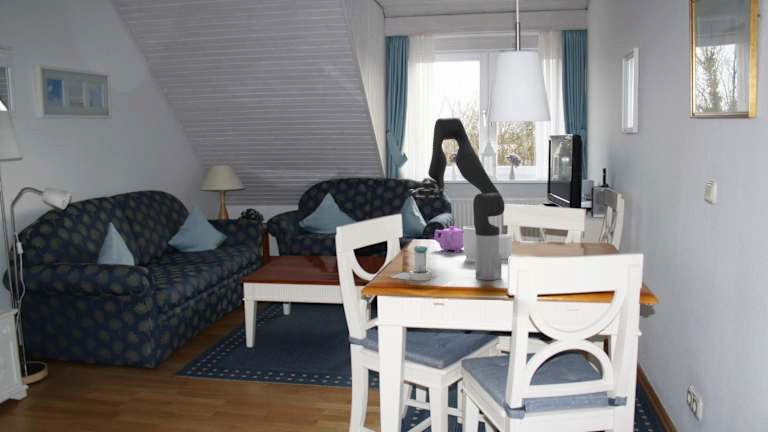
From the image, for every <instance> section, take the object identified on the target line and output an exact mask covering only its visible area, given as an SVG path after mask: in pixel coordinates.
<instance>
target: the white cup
mask: <svg viewBox="0 0 768 432" xmlns="http://www.w3.org/2000/svg"><path fill="white" fill-rule="evenodd" d="M512 249H513V235H512V234H504V233H503V234H501V233H500V234H499V253H501V260H507V259H506V258H508V257H509V256H511V257H512Z"/></svg>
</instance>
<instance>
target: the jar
mask: <svg viewBox="0 0 768 432" xmlns="http://www.w3.org/2000/svg"><path fill="white" fill-rule="evenodd" d="M462 231H464V233H463V251H464V255H465V256H466V257H465V261H466V262H468V263H476V232H475V227H474V225H465V226H463V227H462Z"/></svg>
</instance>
